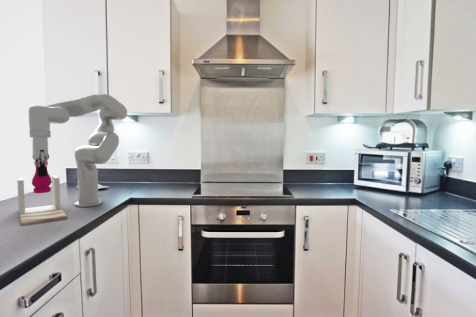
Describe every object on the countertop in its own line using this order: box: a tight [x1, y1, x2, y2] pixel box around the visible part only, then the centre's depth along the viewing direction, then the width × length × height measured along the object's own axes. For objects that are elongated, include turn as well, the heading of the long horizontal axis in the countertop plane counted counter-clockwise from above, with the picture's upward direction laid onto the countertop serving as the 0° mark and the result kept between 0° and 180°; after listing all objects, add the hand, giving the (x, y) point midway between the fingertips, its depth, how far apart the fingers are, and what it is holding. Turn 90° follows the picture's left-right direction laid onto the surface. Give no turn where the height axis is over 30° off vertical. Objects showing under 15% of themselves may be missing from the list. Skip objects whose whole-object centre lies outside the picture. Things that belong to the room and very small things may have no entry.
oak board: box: [19, 208, 68, 226], centre depth 125 cm, size 16×16×1 cm
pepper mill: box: [31, 153, 52, 194], centre depth 123 cm, size 7×7×20 cm
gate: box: [16, 174, 61, 216], centre depth 136 cm, size 10×16×16 cm, turn 130°
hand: (41, 174), depth 123 cm, fingers closed on pepper mill, 5 cm apart
